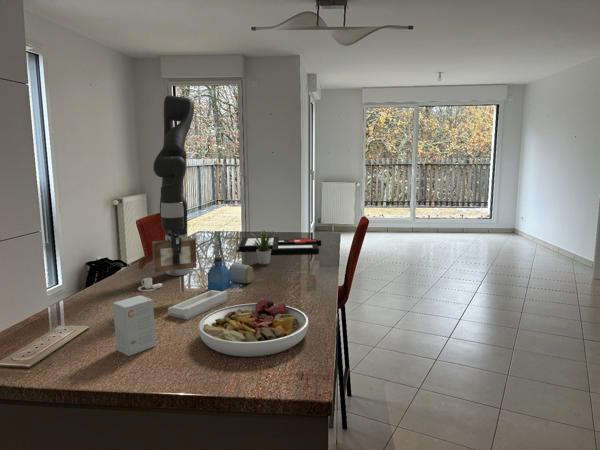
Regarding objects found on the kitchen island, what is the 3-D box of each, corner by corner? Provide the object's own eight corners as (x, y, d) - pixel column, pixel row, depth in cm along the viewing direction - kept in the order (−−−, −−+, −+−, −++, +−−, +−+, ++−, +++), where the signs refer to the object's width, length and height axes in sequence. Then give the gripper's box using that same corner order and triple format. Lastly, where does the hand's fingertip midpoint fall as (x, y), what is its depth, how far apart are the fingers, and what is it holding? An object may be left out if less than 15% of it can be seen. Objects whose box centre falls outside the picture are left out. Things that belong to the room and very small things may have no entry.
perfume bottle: (230, 286, 172) (229, 256, 170) (222, 291, 166) (221, 260, 164) (216, 285, 174) (215, 255, 172) (208, 289, 168) (206, 259, 166)
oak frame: (155, 272, 151) (153, 243, 149) (153, 269, 154) (151, 241, 153) (196, 267, 157) (195, 239, 155) (193, 264, 161) (192, 237, 159)
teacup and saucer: (165, 287, 173) (164, 277, 172) (149, 293, 166) (148, 282, 165) (149, 285, 177) (148, 275, 176) (133, 290, 170) (132, 280, 169)
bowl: (299, 365, 106) (298, 334, 105) (181, 358, 111) (179, 328, 110) (314, 320, 136) (314, 296, 134) (220, 316, 140) (220, 292, 139)
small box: (143, 340, 122) (140, 294, 120) (156, 346, 118) (153, 299, 116) (115, 350, 116) (111, 302, 114) (128, 356, 112) (124, 307, 110)
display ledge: (168, 315, 141) (167, 304, 140) (208, 297, 158) (208, 288, 158) (188, 319, 137) (187, 308, 137) (227, 300, 155) (227, 291, 154)
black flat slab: (237, 255, 227) (324, 254, 228) (236, 250, 226) (324, 248, 228) (243, 242, 262) (319, 241, 264) (243, 237, 262) (319, 236, 263)
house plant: (287, 263, 207) (286, 229, 205) (262, 268, 199) (261, 232, 197) (270, 258, 219) (269, 225, 216) (246, 262, 210) (245, 228, 208)
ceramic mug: (247, 285, 172) (246, 266, 171) (228, 284, 175) (227, 265, 174) (258, 279, 182) (257, 261, 181) (240, 277, 185) (239, 259, 184)
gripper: (188, 217, 148) (190, 266, 151) (179, 211, 160) (181, 257, 163) (165, 218, 145) (167, 269, 147) (157, 213, 157) (160, 260, 160)
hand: (174, 263), depth 155 cm, fingers closed on oak frame, 4 cm apart
